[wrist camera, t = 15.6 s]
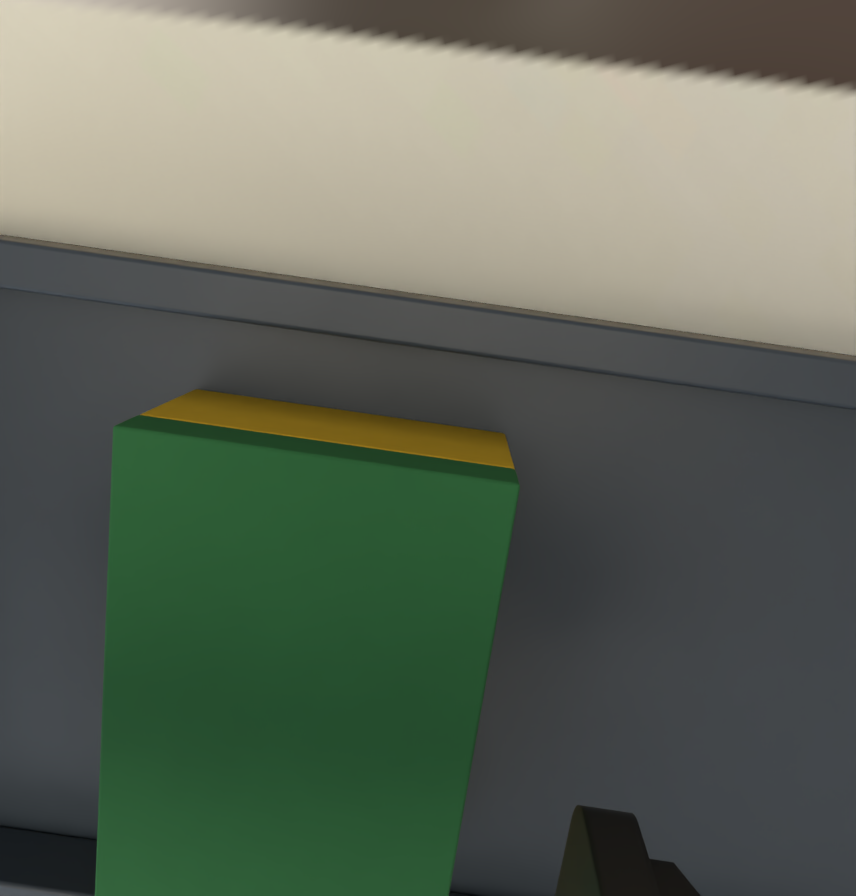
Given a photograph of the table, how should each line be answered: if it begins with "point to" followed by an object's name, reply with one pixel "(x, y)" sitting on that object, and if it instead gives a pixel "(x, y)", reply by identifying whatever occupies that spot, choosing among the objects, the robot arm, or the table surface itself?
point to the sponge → (294, 647)
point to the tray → (528, 565)
